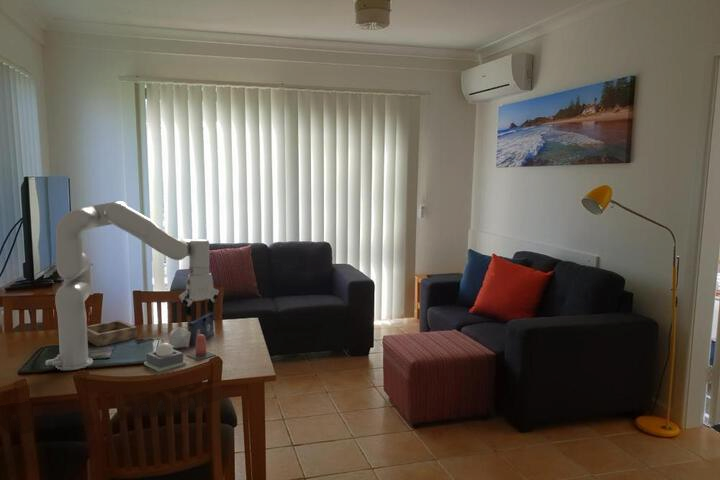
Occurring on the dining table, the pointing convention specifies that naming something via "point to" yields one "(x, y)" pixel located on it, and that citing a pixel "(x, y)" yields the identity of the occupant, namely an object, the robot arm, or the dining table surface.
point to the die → (179, 337)
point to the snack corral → (110, 332)
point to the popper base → (164, 361)
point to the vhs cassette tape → (201, 328)
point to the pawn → (201, 345)
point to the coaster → (201, 357)
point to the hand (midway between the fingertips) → (199, 313)
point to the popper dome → (164, 350)
